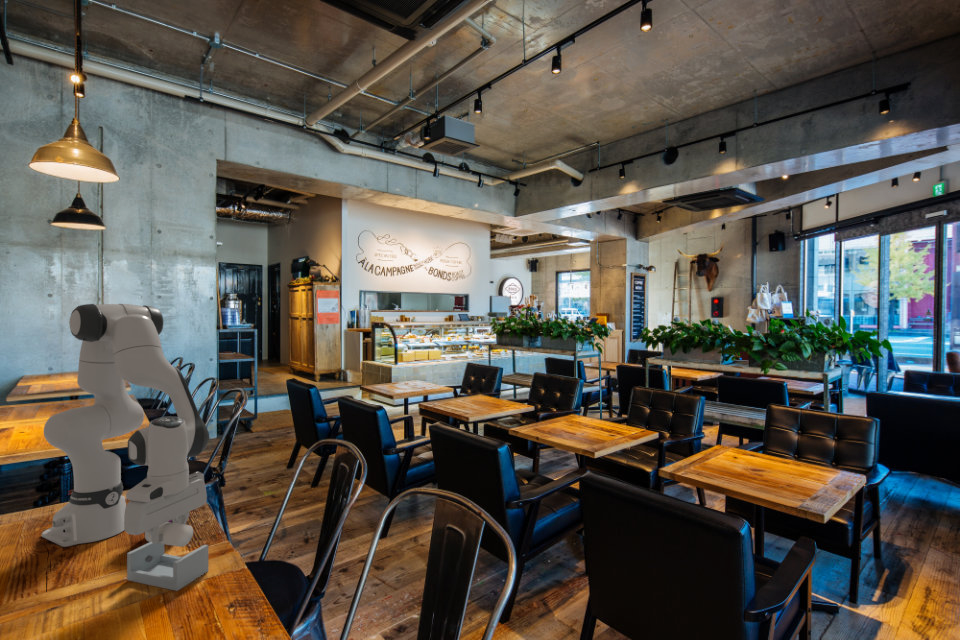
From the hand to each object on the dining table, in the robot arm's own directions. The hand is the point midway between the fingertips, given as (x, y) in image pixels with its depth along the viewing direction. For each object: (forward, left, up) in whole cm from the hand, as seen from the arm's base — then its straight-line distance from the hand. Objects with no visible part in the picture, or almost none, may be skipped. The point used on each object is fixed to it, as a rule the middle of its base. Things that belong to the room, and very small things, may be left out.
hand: (169, 536), depth 119 cm
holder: (0, 0, -10) cm, 10 cm away
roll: (0, 0, -2) cm, 2 cm away
